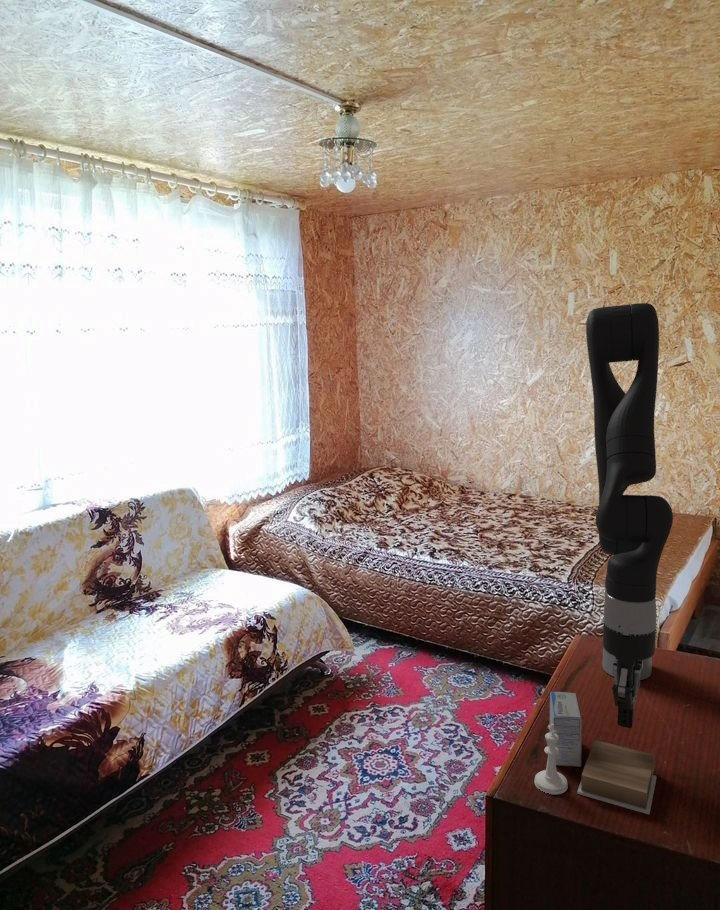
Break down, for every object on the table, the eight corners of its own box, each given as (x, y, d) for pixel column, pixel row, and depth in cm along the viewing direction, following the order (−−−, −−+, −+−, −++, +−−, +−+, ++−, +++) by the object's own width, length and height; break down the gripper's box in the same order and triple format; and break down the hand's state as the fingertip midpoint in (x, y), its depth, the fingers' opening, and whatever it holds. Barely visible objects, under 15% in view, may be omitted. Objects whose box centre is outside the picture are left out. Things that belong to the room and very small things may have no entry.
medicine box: (581, 768, 107) (582, 718, 106) (552, 765, 108) (553, 716, 107) (575, 739, 115) (577, 692, 113) (548, 737, 116) (549, 690, 114)
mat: (589, 760, 109) (589, 758, 109) (656, 778, 104) (656, 775, 104) (577, 793, 101) (577, 791, 101) (649, 814, 96) (649, 812, 96)
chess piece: (545, 797, 101) (546, 736, 99) (528, 777, 105) (529, 718, 104) (574, 790, 102) (576, 730, 100) (556, 771, 107) (557, 712, 105)
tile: (594, 739, 109) (581, 775, 101) (654, 754, 105) (646, 793, 96) (593, 754, 110) (581, 791, 101) (653, 770, 106) (646, 809, 97)
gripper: (611, 602, 112) (607, 699, 115) (596, 634, 100) (592, 740, 103) (660, 610, 108) (655, 710, 111) (650, 644, 97) (645, 754, 100)
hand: (625, 724), depth 107 cm, fingers closed
